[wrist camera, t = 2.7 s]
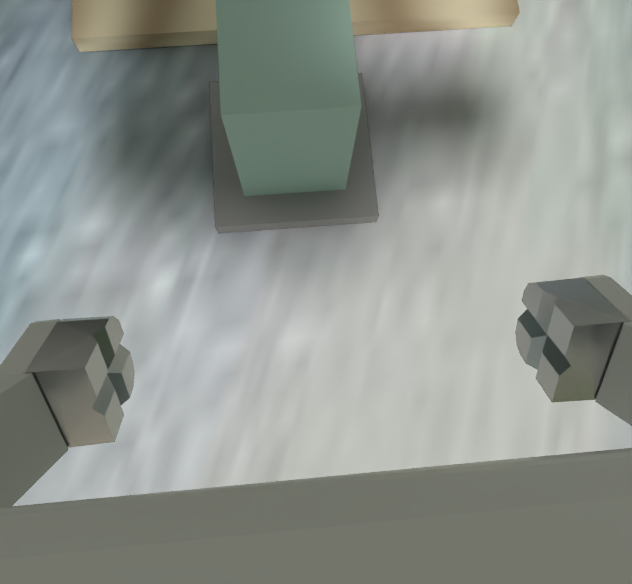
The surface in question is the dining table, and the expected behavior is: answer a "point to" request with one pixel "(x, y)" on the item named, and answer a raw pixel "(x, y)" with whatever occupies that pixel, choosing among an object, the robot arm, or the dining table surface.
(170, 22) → the locating board
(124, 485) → the dining table surface
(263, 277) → the dining table surface
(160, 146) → the dining table surface
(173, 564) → the robot arm
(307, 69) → the flange block
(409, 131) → the dining table surface
